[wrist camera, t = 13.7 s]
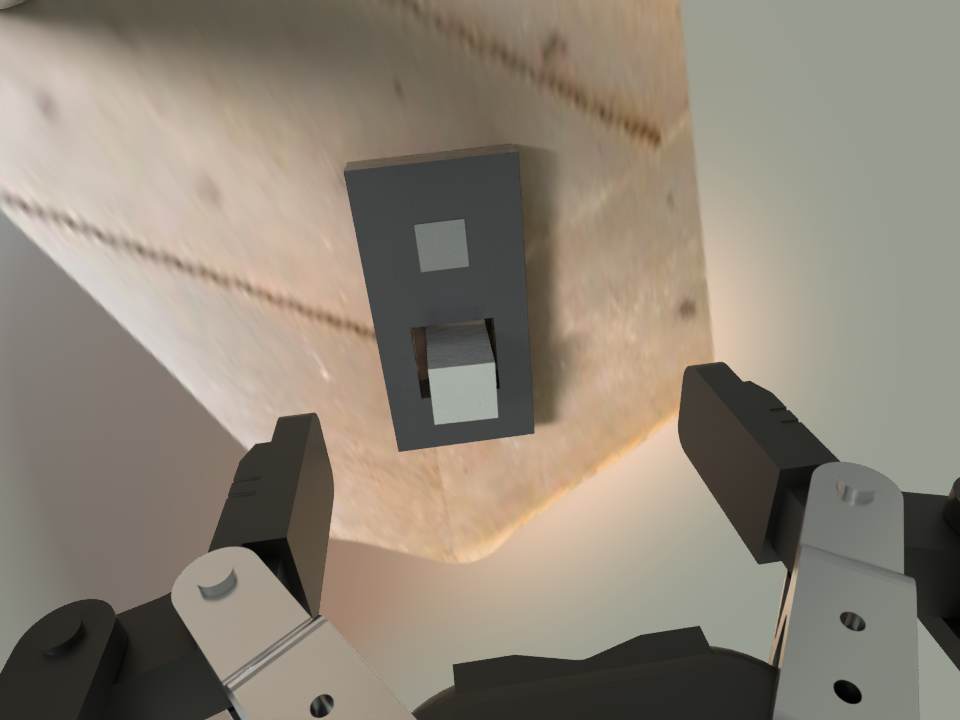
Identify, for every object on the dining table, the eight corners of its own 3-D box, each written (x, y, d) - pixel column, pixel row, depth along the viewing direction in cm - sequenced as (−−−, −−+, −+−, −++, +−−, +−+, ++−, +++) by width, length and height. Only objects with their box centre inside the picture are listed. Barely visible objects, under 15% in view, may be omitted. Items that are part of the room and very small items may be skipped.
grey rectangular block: (431, 369, 44) (434, 424, 38) (425, 319, 42) (427, 369, 36) (486, 363, 44) (498, 417, 38) (482, 313, 42) (494, 362, 36)
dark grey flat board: (399, 431, 46) (398, 452, 44) (347, 162, 36) (343, 171, 34) (528, 414, 47) (534, 434, 44) (511, 143, 37) (518, 151, 35)
